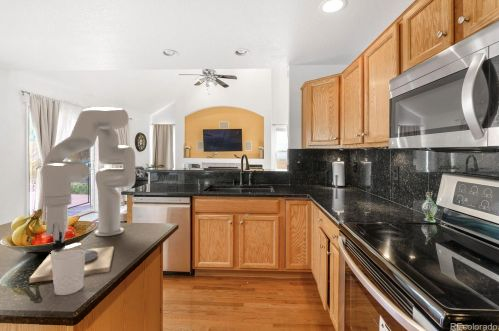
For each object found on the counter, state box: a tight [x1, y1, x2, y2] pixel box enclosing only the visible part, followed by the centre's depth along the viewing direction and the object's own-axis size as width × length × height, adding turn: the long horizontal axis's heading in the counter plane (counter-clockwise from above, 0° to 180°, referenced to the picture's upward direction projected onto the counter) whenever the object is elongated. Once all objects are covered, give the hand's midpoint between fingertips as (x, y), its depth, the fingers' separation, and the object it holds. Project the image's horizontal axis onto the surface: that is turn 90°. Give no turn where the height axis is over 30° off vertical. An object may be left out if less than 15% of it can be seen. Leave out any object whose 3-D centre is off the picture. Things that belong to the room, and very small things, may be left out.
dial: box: [50, 242, 98, 264], centre depth 91 cm, size 14×12×5 cm
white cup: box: [51, 249, 85, 296], centre depth 75 cm, size 8×8×10 cm
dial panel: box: [28, 246, 115, 284], centre depth 92 cm, size 21×21×4 cm
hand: (59, 253), depth 90 cm, fingers closed
